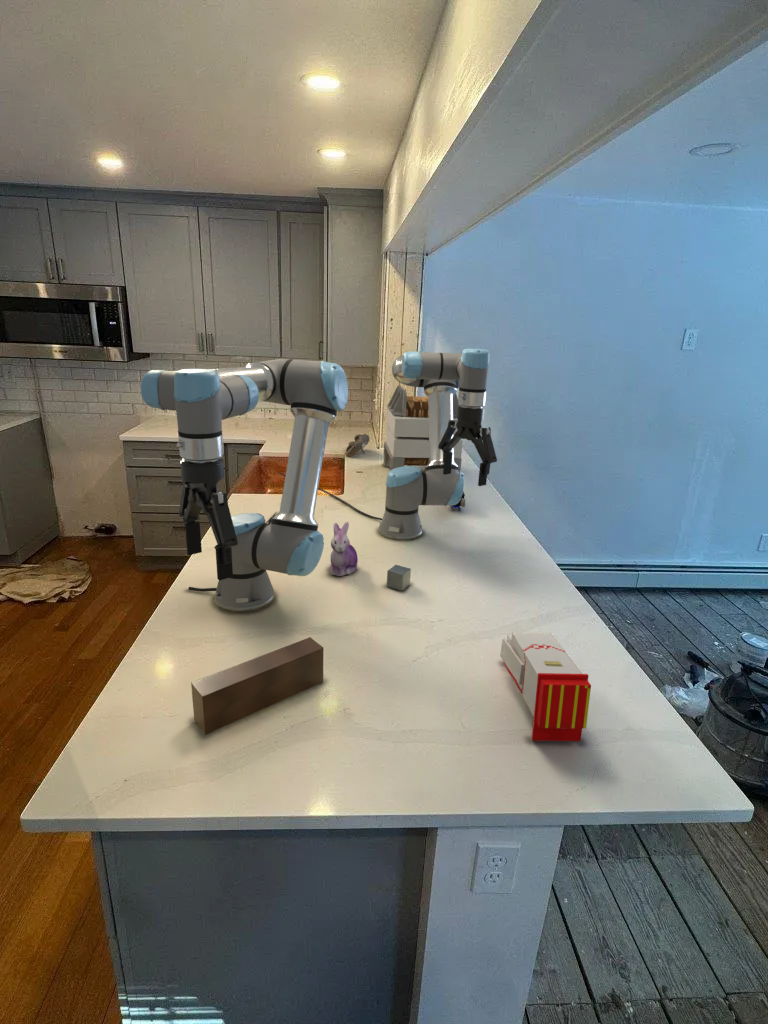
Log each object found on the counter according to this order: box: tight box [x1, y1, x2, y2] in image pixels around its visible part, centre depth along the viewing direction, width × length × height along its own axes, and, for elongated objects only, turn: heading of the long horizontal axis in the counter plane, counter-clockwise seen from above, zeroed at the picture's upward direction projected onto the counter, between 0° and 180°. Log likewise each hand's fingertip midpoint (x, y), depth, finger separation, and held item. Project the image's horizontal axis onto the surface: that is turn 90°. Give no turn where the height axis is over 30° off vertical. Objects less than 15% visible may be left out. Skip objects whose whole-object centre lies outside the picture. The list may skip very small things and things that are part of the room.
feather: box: [265, 512, 277, 524], centre depth 211 cm, size 2×28×2 cm
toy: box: [499, 631, 592, 742], centre depth 117 cm, size 12×13×30 cm
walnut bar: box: [190, 636, 325, 736], centre depth 112 cm, size 26×5×8 cm, turn 130°
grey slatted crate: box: [383, 384, 464, 472], centre depth 268 cm, size 34×33×41 cm
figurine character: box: [448, 490, 466, 511], centre depth 229 cm, size 7×8×15 cm
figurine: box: [329, 521, 359, 577], centre depth 168 cm, size 9×10×15 cm
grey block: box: [386, 564, 412, 592], centre depth 162 cm, size 5×5×5 cm
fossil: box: [345, 433, 370, 458], centre depth 306 cm, size 22×10×15 cm
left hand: (209, 565), depth 109 cm, fingers open, 13 cm apart
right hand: (464, 479), depth 165 cm, fingers open, 13 cm apart
